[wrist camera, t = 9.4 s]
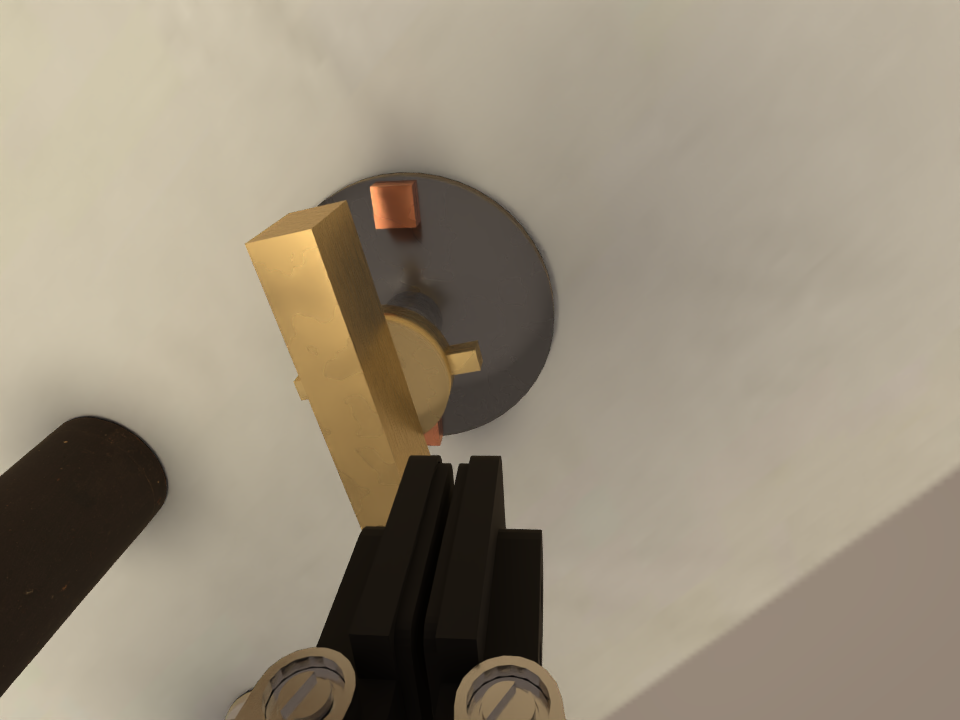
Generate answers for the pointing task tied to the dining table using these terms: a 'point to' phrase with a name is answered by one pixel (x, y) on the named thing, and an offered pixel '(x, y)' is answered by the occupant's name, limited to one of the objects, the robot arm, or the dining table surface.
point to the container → (67, 528)
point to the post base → (459, 283)
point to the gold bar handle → (356, 353)
